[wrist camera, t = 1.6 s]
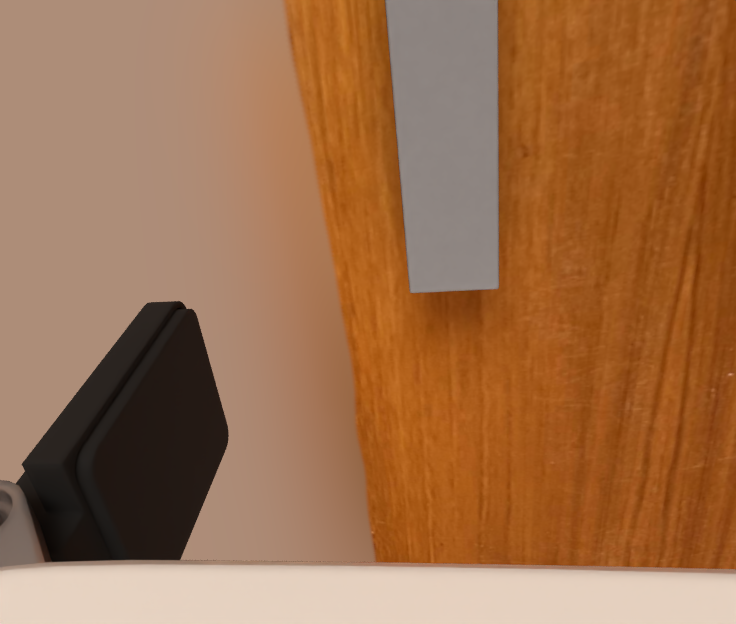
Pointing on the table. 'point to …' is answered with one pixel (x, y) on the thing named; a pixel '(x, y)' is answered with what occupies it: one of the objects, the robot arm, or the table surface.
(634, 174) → the table surface
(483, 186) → the case
